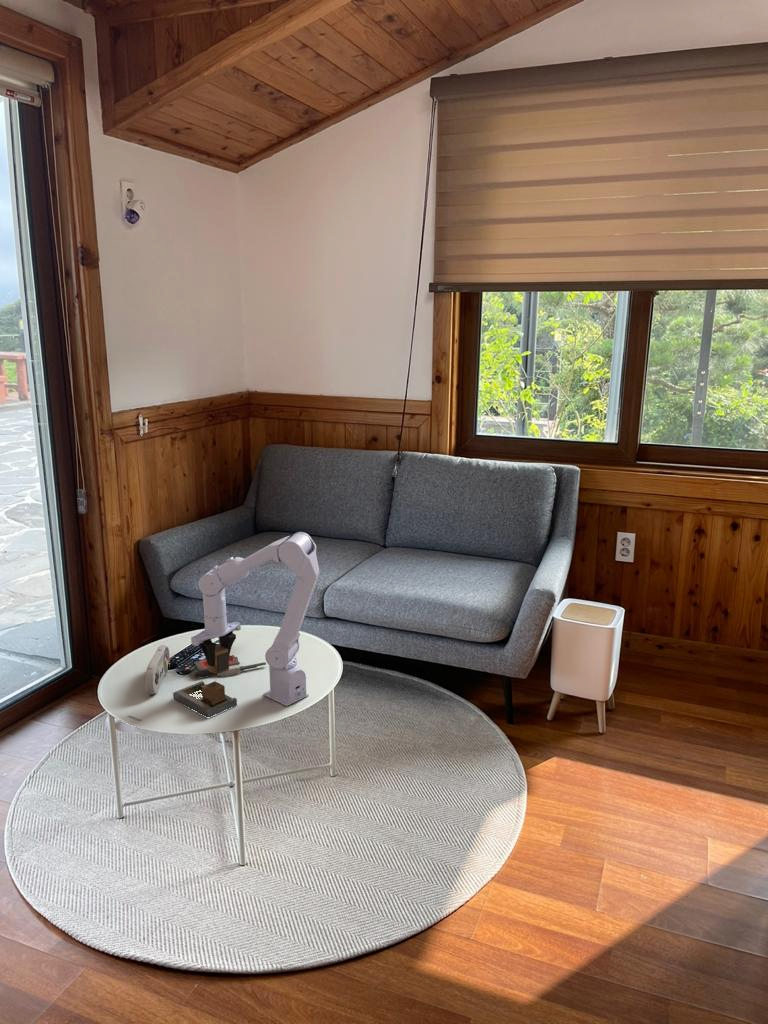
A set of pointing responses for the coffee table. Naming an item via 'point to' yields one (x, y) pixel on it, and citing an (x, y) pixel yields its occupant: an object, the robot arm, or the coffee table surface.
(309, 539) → the robot arm
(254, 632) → the coffee table surface
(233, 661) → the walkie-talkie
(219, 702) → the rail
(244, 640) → the coffee table surface
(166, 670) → the game controller
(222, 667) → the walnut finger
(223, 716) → the coffee table surface
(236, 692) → the coffee table surface
